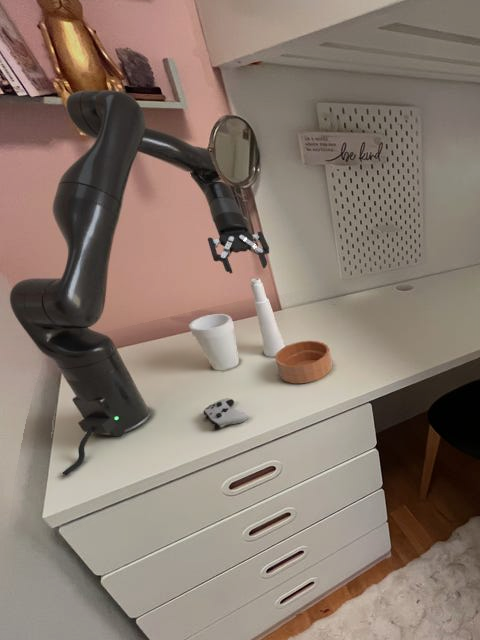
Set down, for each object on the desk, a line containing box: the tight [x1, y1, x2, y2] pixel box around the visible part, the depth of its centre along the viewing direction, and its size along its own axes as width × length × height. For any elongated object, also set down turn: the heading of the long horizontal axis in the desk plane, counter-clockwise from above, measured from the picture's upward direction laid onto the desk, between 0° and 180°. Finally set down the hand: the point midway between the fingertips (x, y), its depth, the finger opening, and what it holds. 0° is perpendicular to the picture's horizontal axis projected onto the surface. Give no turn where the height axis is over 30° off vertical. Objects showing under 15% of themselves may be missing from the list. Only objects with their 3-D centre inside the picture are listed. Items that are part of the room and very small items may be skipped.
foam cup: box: [188, 313, 240, 371], centre depth 106 cm, size 10×9×13 cm
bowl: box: [274, 340, 333, 384], centre depth 107 cm, size 13×13×6 cm
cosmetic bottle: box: [250, 278, 287, 358], centre depth 110 cm, size 6×6×22 cm
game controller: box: [202, 397, 249, 430], centre depth 90 cm, size 10×5×6 cm
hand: (248, 269), depth 112 cm, fingers open, 8 cm apart
